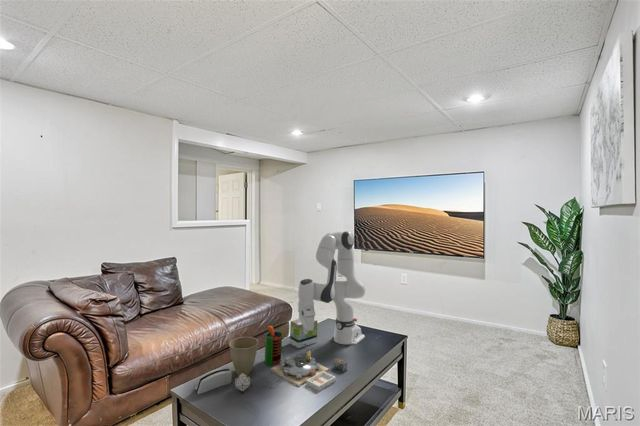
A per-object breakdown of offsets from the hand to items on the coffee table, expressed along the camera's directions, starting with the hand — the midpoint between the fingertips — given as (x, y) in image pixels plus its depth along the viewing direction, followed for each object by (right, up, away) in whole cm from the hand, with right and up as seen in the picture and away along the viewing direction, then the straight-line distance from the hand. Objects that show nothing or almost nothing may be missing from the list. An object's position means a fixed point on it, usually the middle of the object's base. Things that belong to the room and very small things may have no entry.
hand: (305, 333), depth 186 cm
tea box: (-2, -16, +26) cm, 31 cm away
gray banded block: (+19, -17, -6) cm, 27 cm away
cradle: (+9, -17, -21) cm, 29 cm away
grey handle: (-43, -17, -26) cm, 53 cm away
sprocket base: (-3, -17, -9) cm, 19 cm away
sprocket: (-3, -15, -9) cm, 18 cm away
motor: (-19, -17, 0) cm, 25 cm away
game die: (-29, -17, -29) cm, 44 cm away
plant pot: (-32, -17, -12) cm, 38 cm away
